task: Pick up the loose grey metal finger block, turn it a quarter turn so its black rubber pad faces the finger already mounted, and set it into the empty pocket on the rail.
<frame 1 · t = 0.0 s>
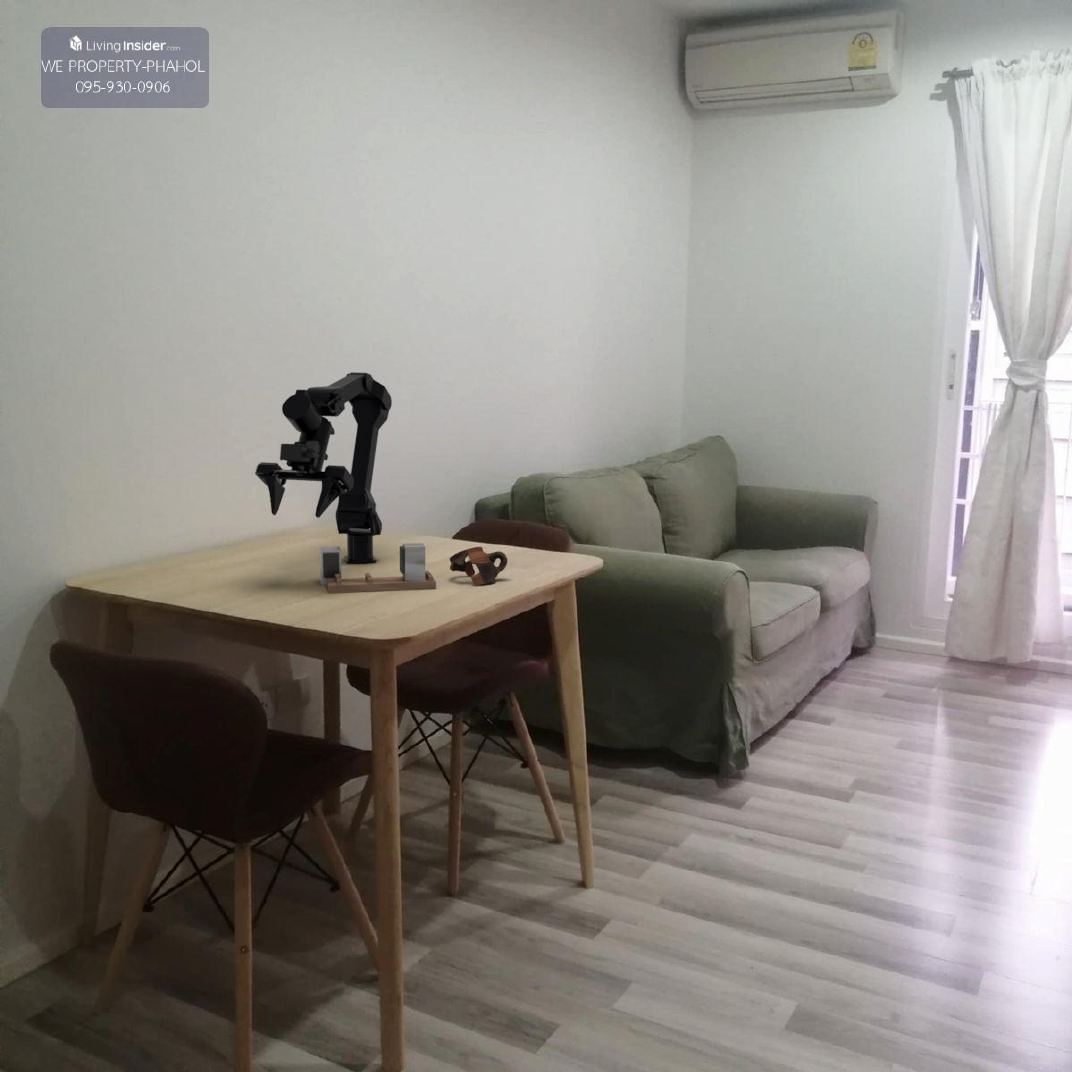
hand: (295, 515, 204), 15 cm above the table, tool tilted 35°, fingers open, 9 cm apart
rail: (381, 587, 210), on the table
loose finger: (330, 582, 214), on the table
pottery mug: (478, 582, 218), on the table
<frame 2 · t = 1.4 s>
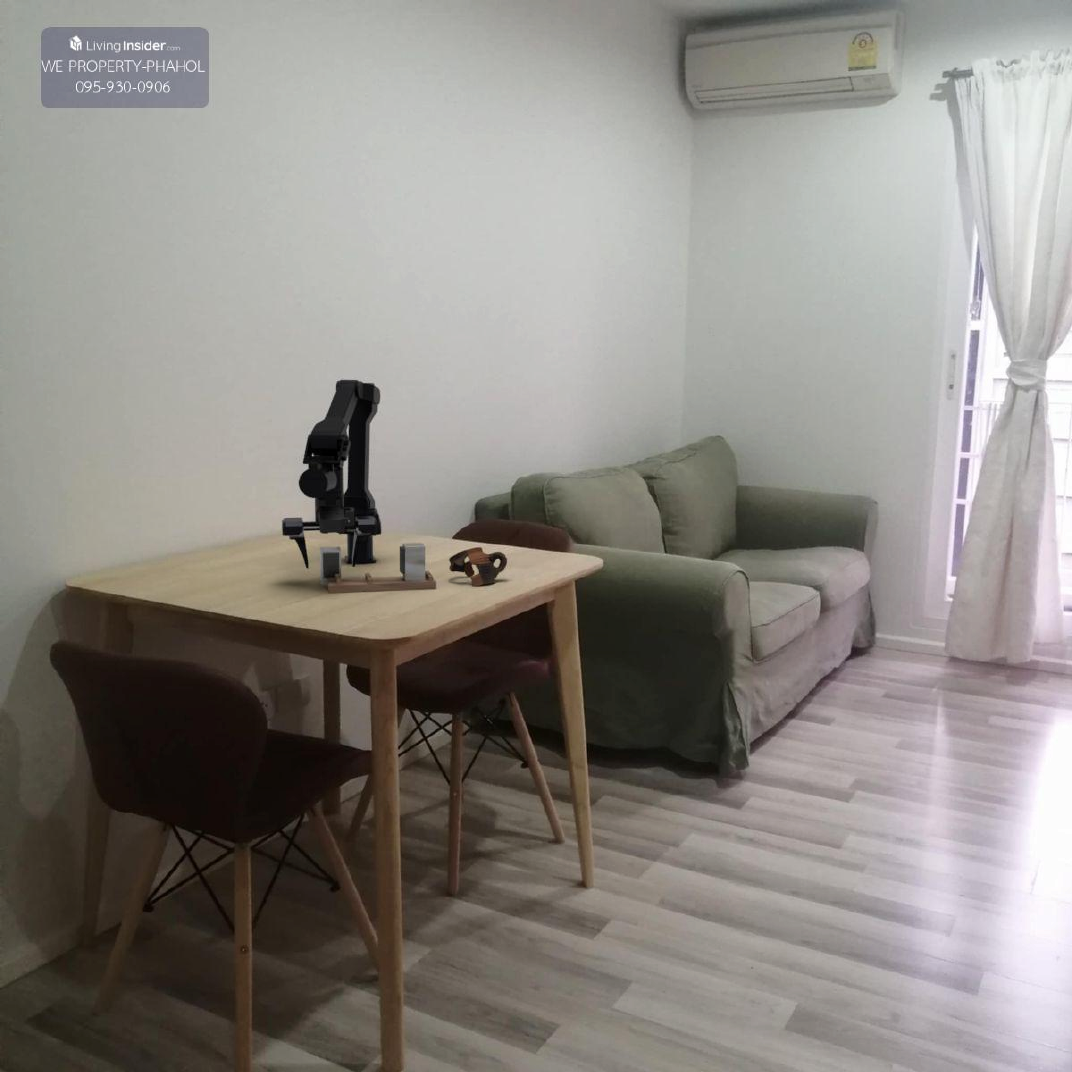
hand: (330, 567, 214), 3 cm above the table, tool pointing down, fingers open, 9 cm apart
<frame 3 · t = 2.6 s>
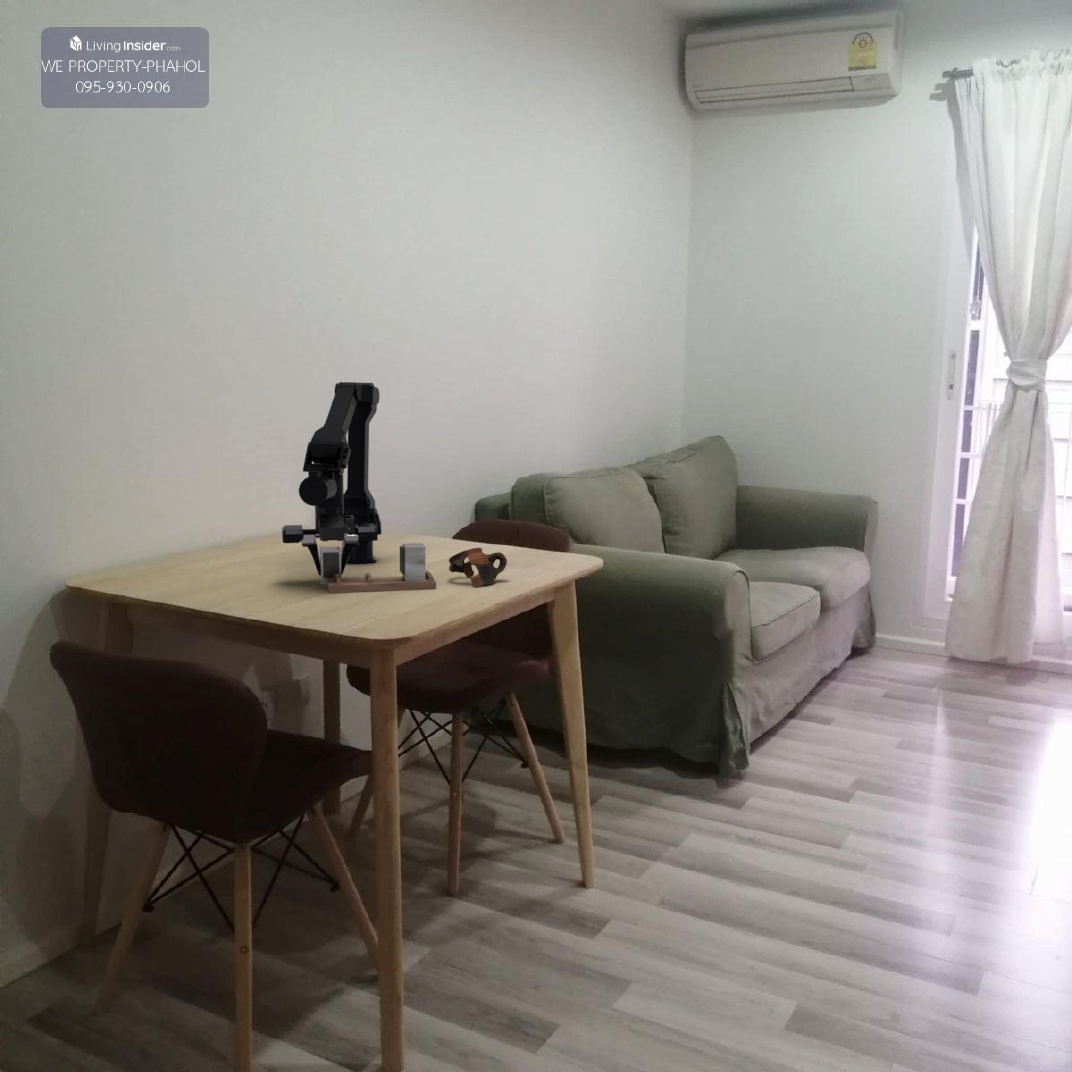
hand: (330, 574, 214), 2 cm above the table, tool pointing down, fingers closed on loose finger, 4 cm apart
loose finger: (330, 582, 214), on the table, touching gripper
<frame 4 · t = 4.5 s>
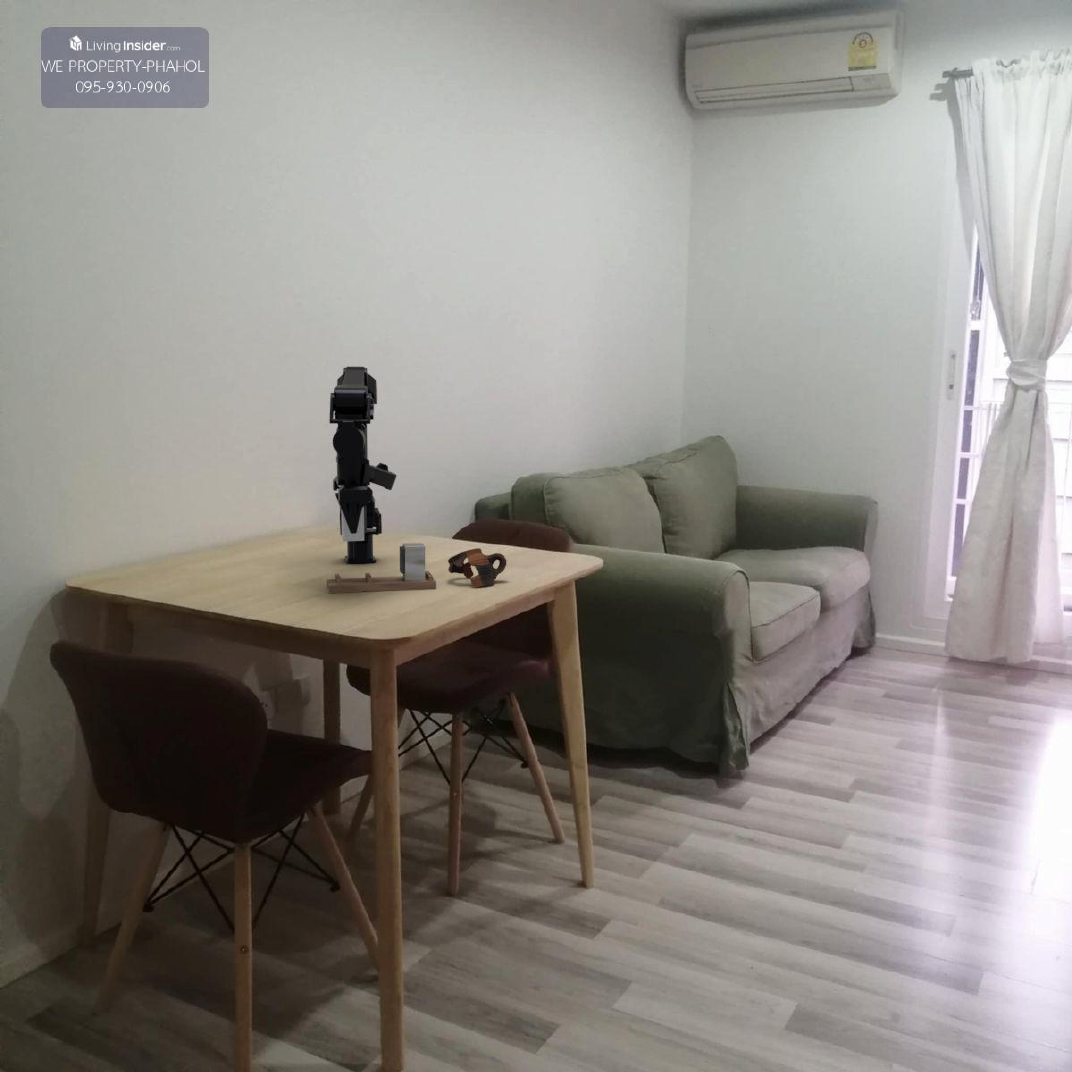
hand: (352, 531, 207), 12 cm above the table, tool pointing down, fingers closed on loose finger, 4 cm apart
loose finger: (353, 539, 207), point 10 cm above the table, touching gripper
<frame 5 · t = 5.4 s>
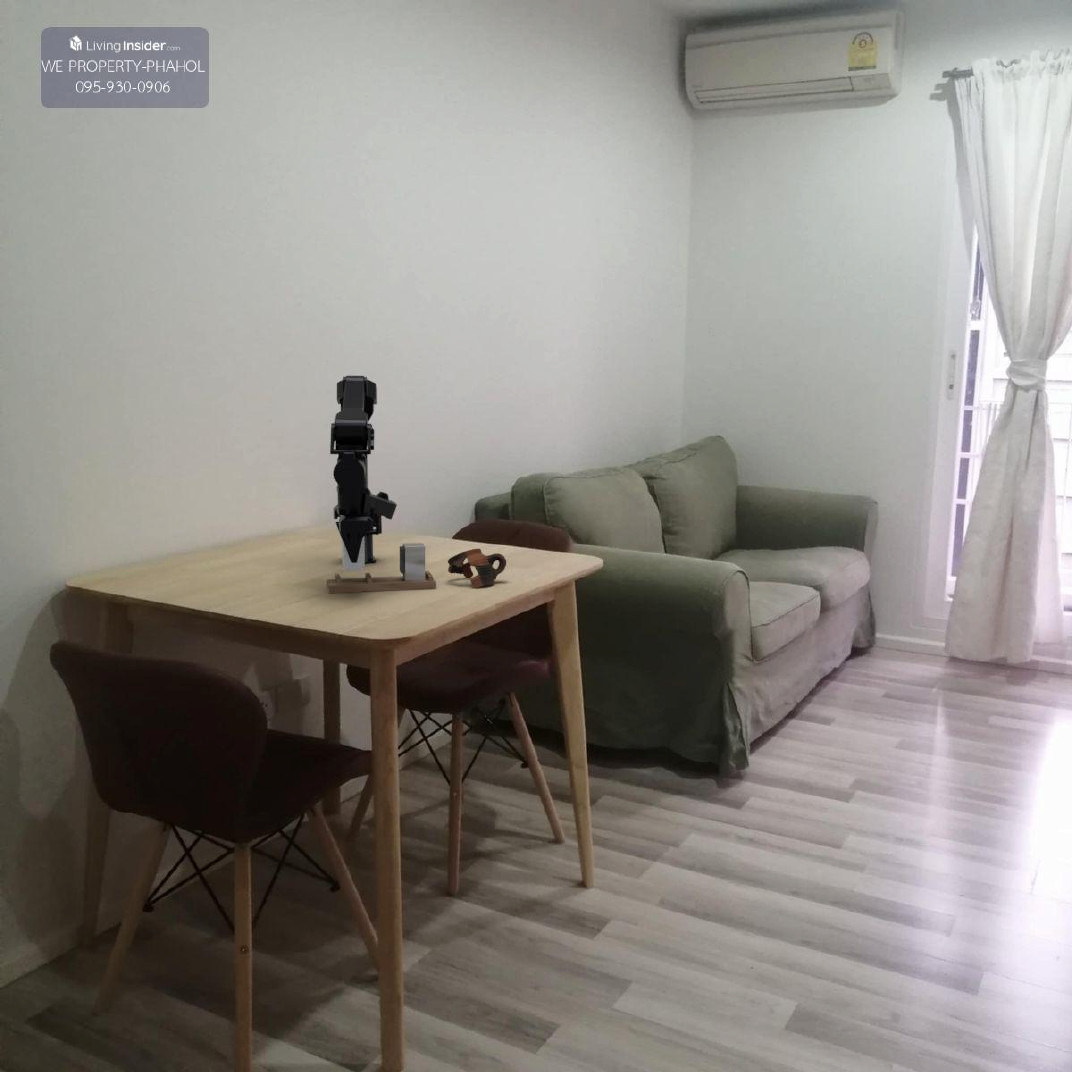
hand: (353, 560, 208), 6 cm above the table, tool pointing down, fingers closed on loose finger, 4 cm apart
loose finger: (353, 568, 208), point 4 cm above the table, touching gripper
when the fingers open (5 cm above the table, at t = 6.3 s): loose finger drops 2 cm, resting on rail.
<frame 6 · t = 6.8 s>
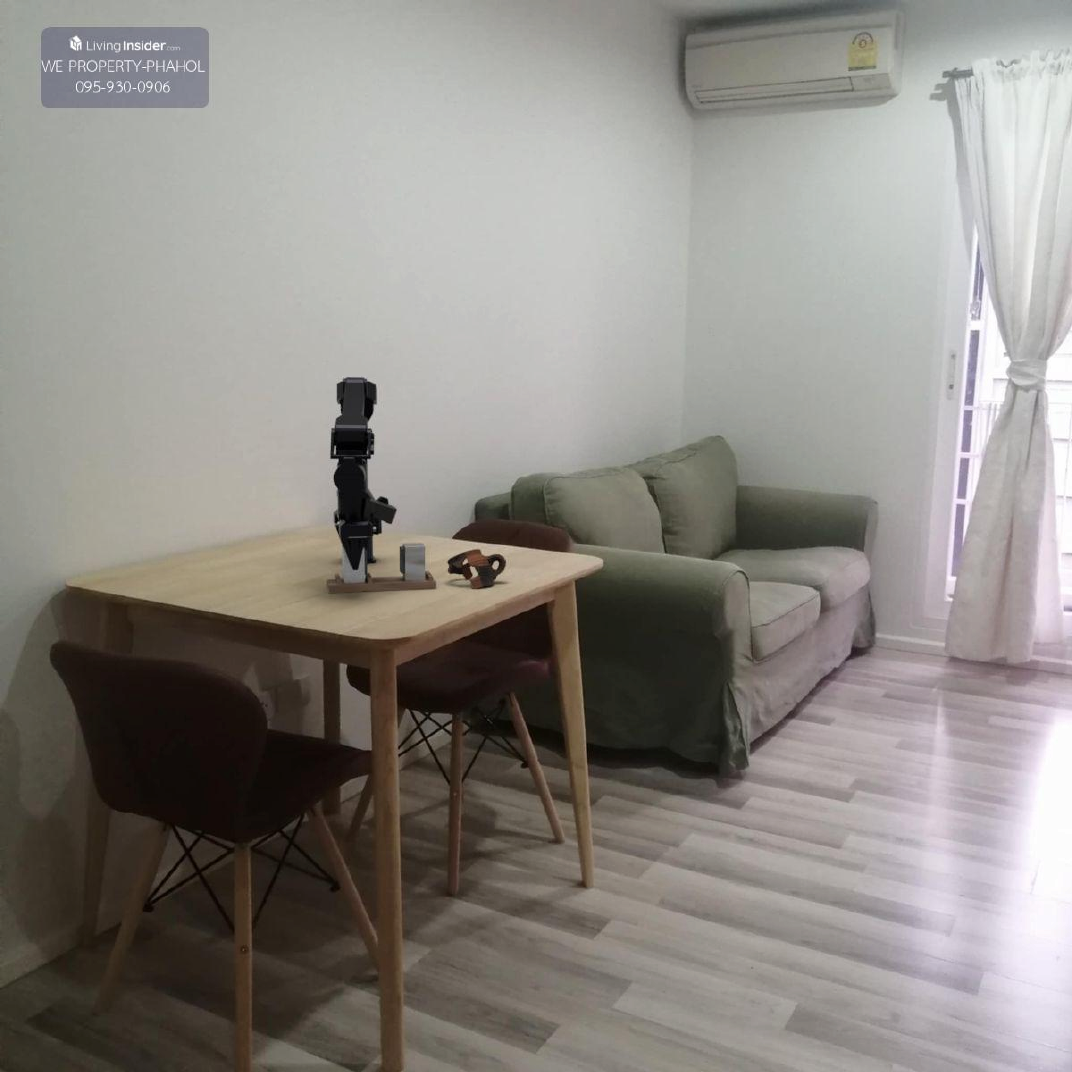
hand: (353, 565, 208), 5 cm above the table, tool pointing down, fingers open, 9 cm apart
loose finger: (353, 581, 208), point 1 cm above the table, touching rail
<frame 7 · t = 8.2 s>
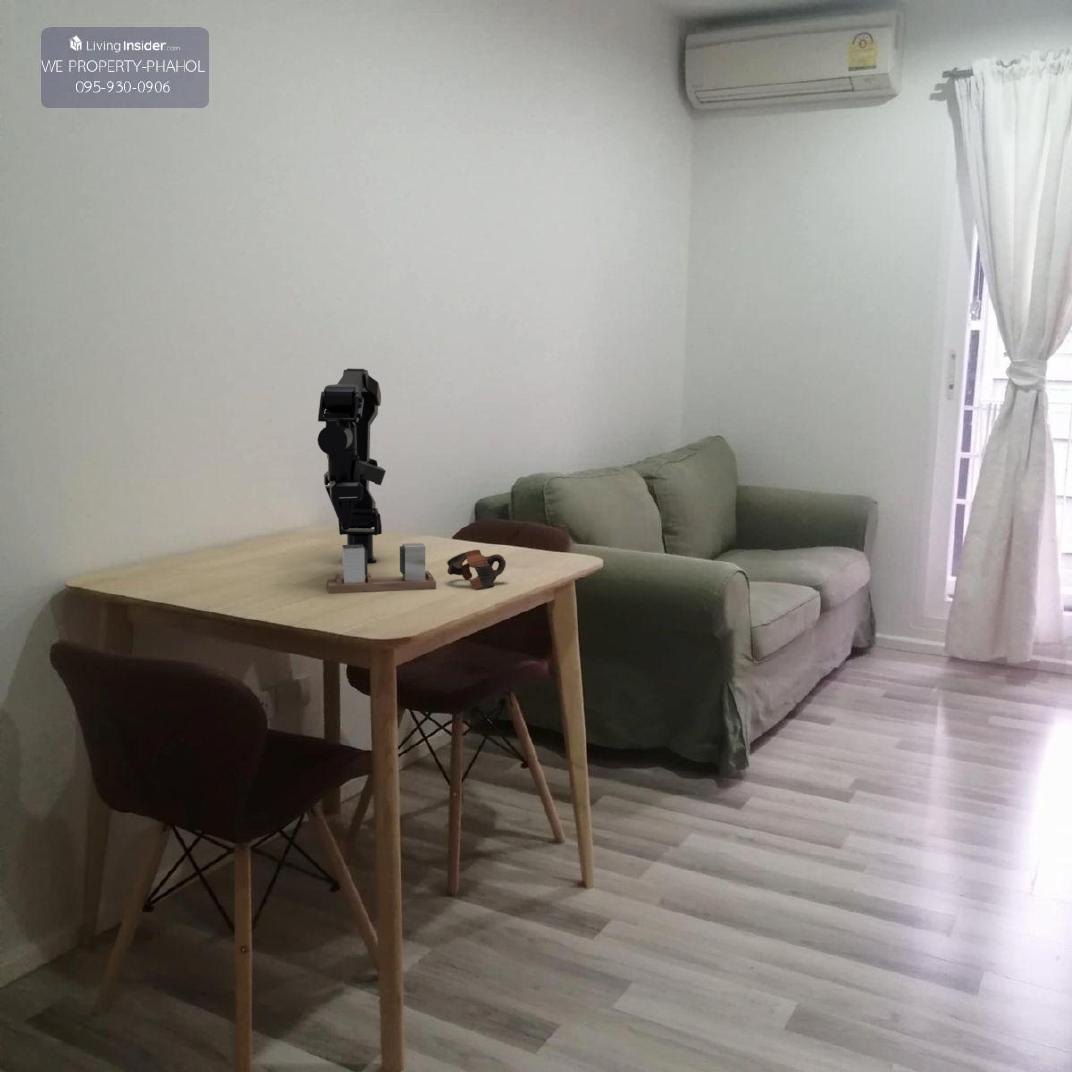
hand: (343, 525, 214), 11 cm above the table, tool pointing down, fingers open, 9 cm apart
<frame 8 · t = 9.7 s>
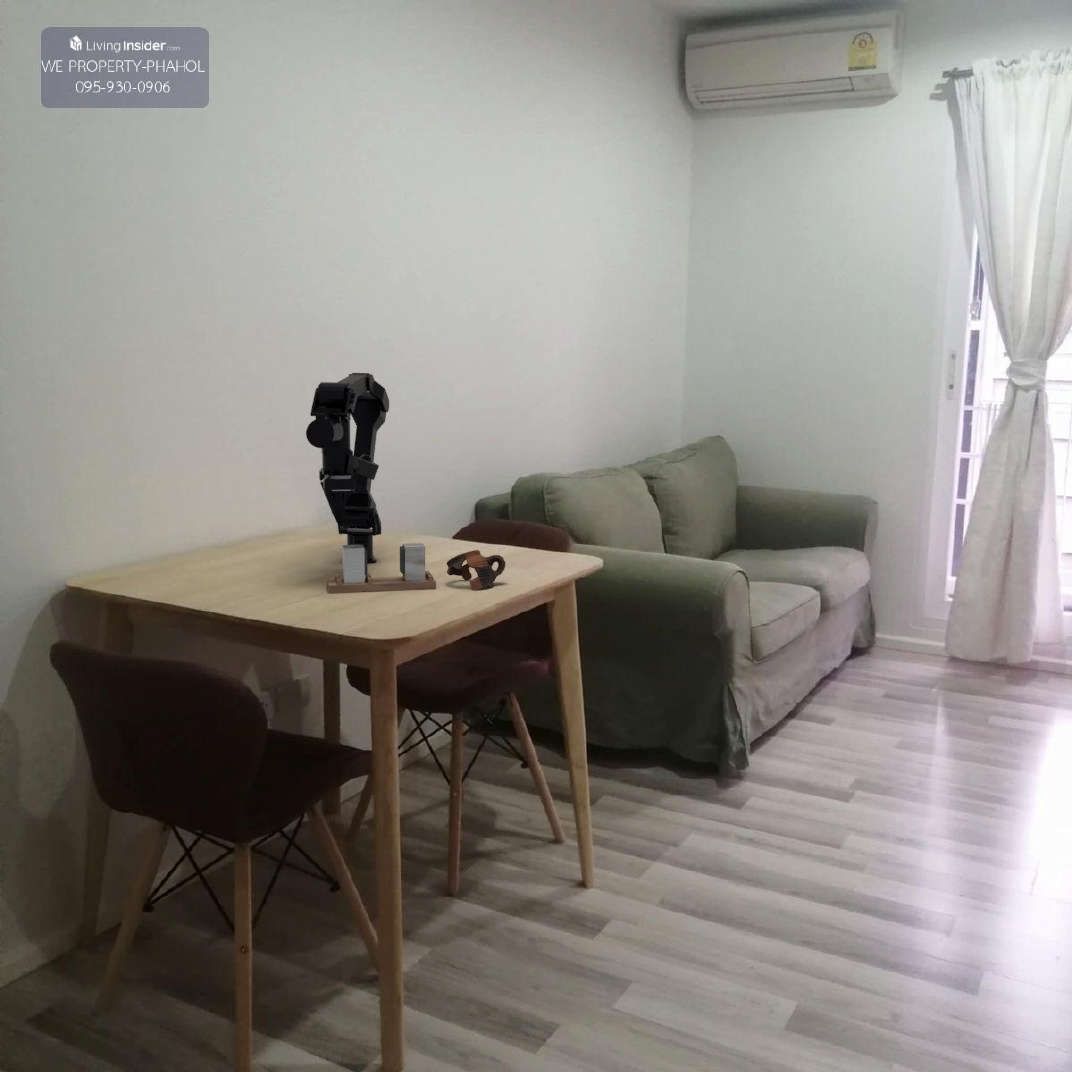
hand: (337, 519, 218), 12 cm above the table, tool pointing down, fingers open, 9 cm apart
at the end: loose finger 0.1 cm from the target spot, point 1.5 cm above the table; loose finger tilted 0°; the gripper is holding nothing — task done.
